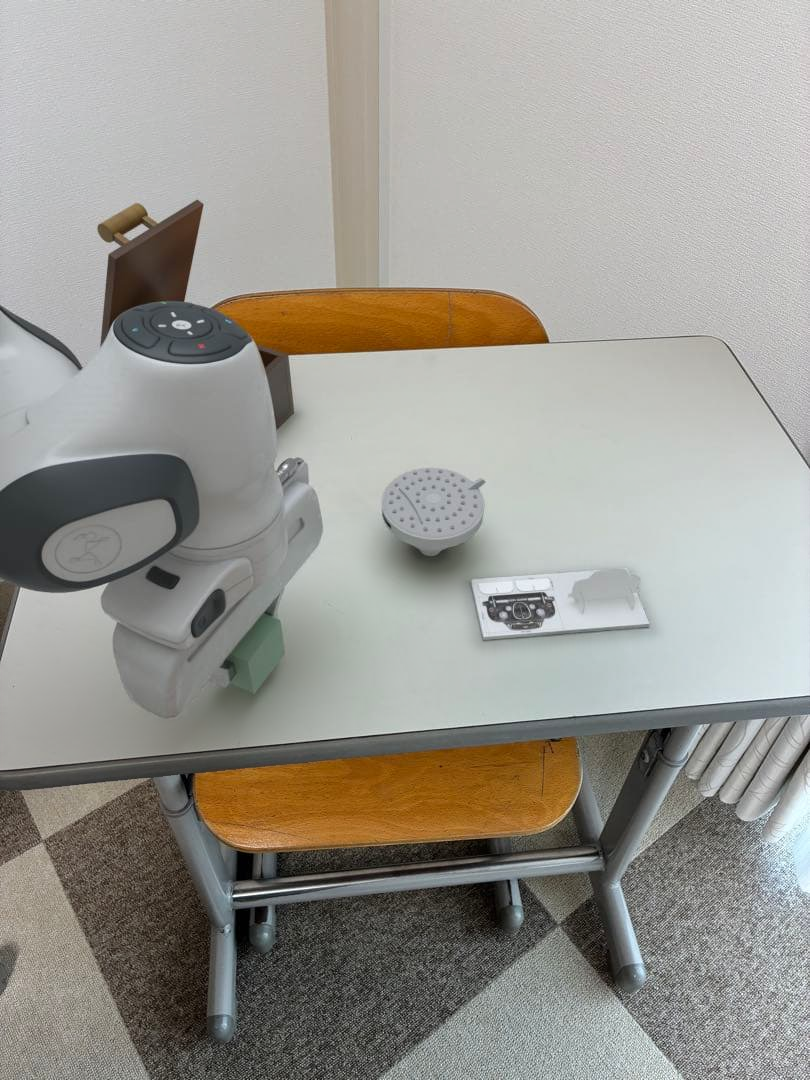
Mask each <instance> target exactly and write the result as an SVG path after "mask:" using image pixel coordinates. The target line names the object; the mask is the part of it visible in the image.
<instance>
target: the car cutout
mask: <svg viewBox="0 0 810 1080" xmlns="http://www.w3.org/2000/svg"><path fill="white" fill-rule="evenodd" d="M640 584H641V577H640V576H638V575H636V574H635V575H633V574H632V575H631V574H630V571H629V568H628V567H619V568H606V569H605V568H603V569H590V570H578V571H577V570H576V571H565V572H550V573H549V572H548V573H537V574H524V575H523V574H522V575H510V576H509V575H508V576H495V577H483V578H471V579H470V588H471V592H472V597H473V601H474V606H475V610H476V613H477V619H478V623H479V627H480V632H481V633H480V634H481V638H482V640H483V641H491V640H501V639H502V640H503V639H514V638H515V639H516V638H525V637H541V636H554V635H565V634H577V633H578V634H579V633H591V632H603V631H614V630H627V629H641V628H649V627H650V625H651V623H650V621H649V619H648V616H647V614H646V611H645V608H644V606H643V604H642V601H641V598H640V595H639V593H640V590H641V588H639V586H640Z"/></svg>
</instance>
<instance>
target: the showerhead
mask: <svg viewBox="0 0 810 1080" xmlns="http://www.w3.org/2000/svg"><path fill="white" fill-rule="evenodd" d="M485 483H486V480H485V479H483V478H482V477H479V478H477V479H476V480H474V481H472V480H471V479H470V478H468V477H467V476H466V475H463V474H461V473H459V472H457V471H455V470H454V471H453V470H451V469H448V468H442V467H441V468H440V467H421V468H415V469H411V470H409V471H405V472H403V473H401V474H399V475H398V476H396V477H395V478H393V479H392V480H391V481H390V482H389V483H388V484H387V485H386V487H385V488H384V491H383V492H382V496H381V517H382V520H383V522H384V524H385V527H386V528H387V529H388V531H390V533H391V534H392V535H393V536H395V537H396V538H397V539H399V540H400V541H402V542H404V543H406V544H407V545H411V546H413V547H415V548H416V549H418V550H419V552H420V553H421V554H422V555H424V556H426V557H435V556H437V555H439V554H440V553H441V551H444V550H446V549H447V548H451V547H452V548H453V547H455V546H456V547H457V546H458V545H461V544H463V543H464V542H466V541H469V539H471V538H472V537H474V535H475V534H476V533H477V532H478V531H479V529H481V525H482V523H483V520H484V513H485V509H486V508H485V507H486V503H485V498H484V495H483V493H482V491H481V489H480V488H481V487H482V486H484V485H485Z"/></svg>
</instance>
